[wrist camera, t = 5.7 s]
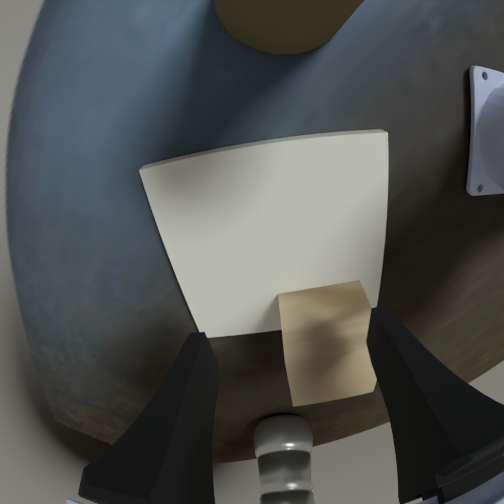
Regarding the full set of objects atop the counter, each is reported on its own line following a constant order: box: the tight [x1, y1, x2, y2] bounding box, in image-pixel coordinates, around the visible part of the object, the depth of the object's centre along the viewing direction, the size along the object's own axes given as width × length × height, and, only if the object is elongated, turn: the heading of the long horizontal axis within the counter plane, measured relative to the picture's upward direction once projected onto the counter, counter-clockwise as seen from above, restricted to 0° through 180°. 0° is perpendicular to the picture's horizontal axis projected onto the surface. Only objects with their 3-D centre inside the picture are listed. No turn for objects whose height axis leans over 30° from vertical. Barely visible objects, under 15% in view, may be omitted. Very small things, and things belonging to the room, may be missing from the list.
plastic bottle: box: [253, 415, 315, 504], centre depth 21 cm, size 6×7×20 cm
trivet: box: [139, 129, 388, 338], centre depth 16 cm, size 12×12×1 cm
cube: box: [278, 280, 377, 407], centre depth 16 cm, size 5×5×5 cm
